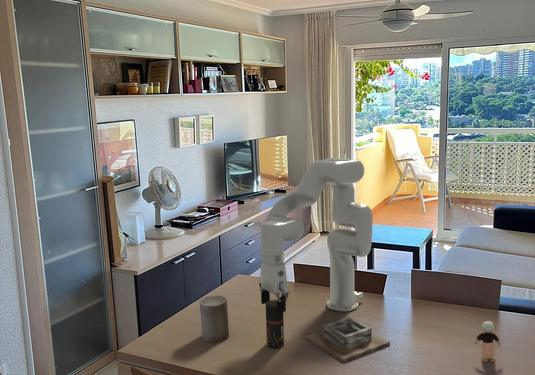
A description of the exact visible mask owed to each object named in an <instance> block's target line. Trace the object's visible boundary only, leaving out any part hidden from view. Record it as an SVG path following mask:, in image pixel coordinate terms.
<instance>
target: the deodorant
mask: <svg viewBox="0 0 535 375" xmlns="http://www.w3.org/2000/svg"><path fill="white" fill-rule="evenodd" d="M277 301H278V300H277V299H273V300H271V299H270V301H267V302H266V303H265V325H266V328H265V331H266V345H267V348H269V349H272V350H279V349H282V348H283V347H284V346H285V329H284V328H285V324H284V323H285V322H284V312H282V313H277Z"/></svg>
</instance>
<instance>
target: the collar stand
mask: <svg viewBox="0 0 535 375" xmlns="http://www.w3.org/2000/svg"><path fill="white" fill-rule="evenodd" d="M306 340H308V341H309V342H310V343H312V344H313V345H315V346H317V347H318V348H320V349H322V350H323V351H324V352H326V353H328V354H330V355H331V356H333V357H334V358H336V359H338V360H339V361H341V362H342V363H348V362H349V361H353V360H354V359H357V358H360V357H362V356H366V355H368V354H371V353H373V352H376V351H378V350H381V349H383V348H386V347H388V346H391V341H389V340H387V339H385V338H383V337H381V335H378V334H375V333H374V332H373V331H372V327H370V326H368V325H366V324H364V323H361V322H360V321H358V320H356V319H355V318H352V317H351V316H347V317H345V318H342V319H339V320H336V321H333V322H330V323H329V322H328V323H327V324H324V325H323V330H320V331H318V332H314V333H311V334H309V335H306Z"/></svg>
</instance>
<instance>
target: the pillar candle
mask: <svg viewBox="0 0 535 375" xmlns="http://www.w3.org/2000/svg"><path fill="white" fill-rule="evenodd" d="M199 310H200V323H201V337H202V339H203V340H204V342H207V343H219V342H223V341H225V340H227V339H229V337H230V332H229V331H230V330H229V329H230V328H229V314H228V301H227V297H225V296H223V295H215V294H214V295H208V296H205V297H202V298H201V299H200V301H199Z"/></svg>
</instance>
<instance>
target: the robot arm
mask: <svg viewBox="0 0 535 375" xmlns="http://www.w3.org/2000/svg"><path fill="white" fill-rule="evenodd" d="M363 176H365V166H364V164H363V162H362V161H361V160H359V159H356V158H355V159H354V158H353V159H352V158H341V157H340V158H339V157H328V158H325V159H323V160H322V159H321V160H319V159H318V160H314V161H312V163H310V164H309V166H308V168H307V170H306V171H305V172H304V174H303V176H302V178H301V179H300V182H299V183H298V185H297V186H296V187H295V189H294V190H293V191H291V192H290V193H288V194H286V195H285V196H283V197H282V198H281V199H279V200H278V201H276V202H275V204H273V206H272V207H271V209H270V211H269V212H268V213H267V215H266V218H265V220H264V222H262V223H261V225H260V256H261V257H260V259H261V261H260V262H261V263H260V276H258V277H257V280H258V284H259V285H258V286H259V287H260V289H259V291H260V301H261V302H260V303H261V304H262V305H266V302H267V301H270V300H271V294H272V295H275V296H276V300H278V301H277V313H282V312H283V313H285V312H287V308H286V307H287V304H286V303H287V299H288V298H289V293H290V290H289V289H288V278H287V270H286V265H285V260H284V259H285V257H284V256H285V248H284V247H285V246H284V244H285V242H294V241H297V240H299V239H300V238H302V236H303V234H304V231H305V226H304V224H303V222H302V221H301V220H299V219H297V218H293V217H287V216H288V215H289V214H290V213H292V212H294V211H297V210H301V209H304V208H307V207H310V206H312V205H314V204H316V203H317V201H318V199H319V197H320V196H321V194H322V192H323V190H324V188H325V187H326V186H327V185H330V186H331V191H332V199H331V200H332V202H331V203H332V205H331V217H332V222H333V223H334V224H335V225H338V226H341V227H346V228H340V227H339V228H334V229H332V230H330V231H329V233H328V234H327V237H326V238H327V239H326V245H327V248H328V255H329V272H330V273H329V278H330V279H329V283H330V284H329V287H330V290H329V291H330V294H329V295H330V298H329V299H327V301H326V307H327V309H330V310H332V311H336V312H351V311H354V310H356V309H358V308H359V301H358V299H360V298H364V293H363V292H362V291H361V292H358V293H357V291H355V262H354V258H353V257H352V256H354V257H358V258H359V257H360V258H364V257H367V256H368V255H369V254H370V251H371V249H372V248H371V247H372V243H373V242H372V241H373V240H372V239H373V218H374V217H373V212H372V209H371V207H370V206H369V205H367V204H365V203H359V202H358V203H357V202H356V201H355V198H356V197H355V193H356V192H355V186H354V184H355V183H357V182H359V181H361V180H362V179H363ZM347 227H348V228H353V229H355V230H351V229H347ZM270 293H271V294H270Z"/></svg>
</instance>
